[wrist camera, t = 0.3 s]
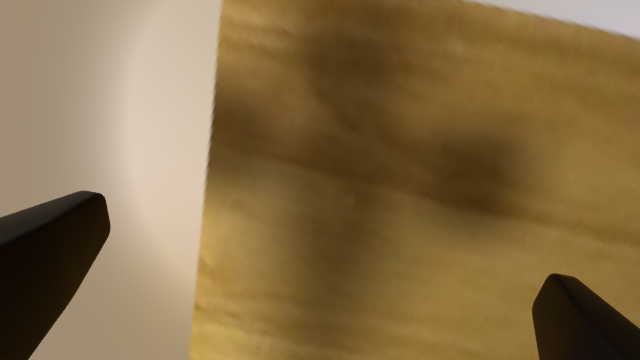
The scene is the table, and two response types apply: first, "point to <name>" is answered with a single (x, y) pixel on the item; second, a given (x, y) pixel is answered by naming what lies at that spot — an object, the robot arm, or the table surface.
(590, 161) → the table surface
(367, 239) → the table surface
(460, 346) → the table surface
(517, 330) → the table surface
